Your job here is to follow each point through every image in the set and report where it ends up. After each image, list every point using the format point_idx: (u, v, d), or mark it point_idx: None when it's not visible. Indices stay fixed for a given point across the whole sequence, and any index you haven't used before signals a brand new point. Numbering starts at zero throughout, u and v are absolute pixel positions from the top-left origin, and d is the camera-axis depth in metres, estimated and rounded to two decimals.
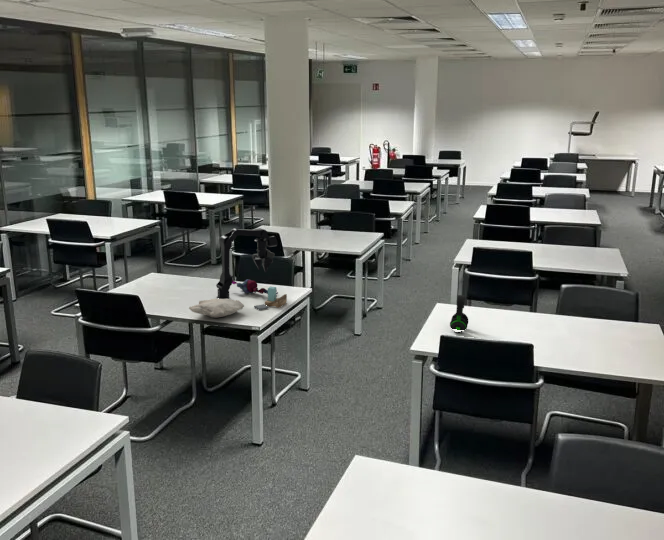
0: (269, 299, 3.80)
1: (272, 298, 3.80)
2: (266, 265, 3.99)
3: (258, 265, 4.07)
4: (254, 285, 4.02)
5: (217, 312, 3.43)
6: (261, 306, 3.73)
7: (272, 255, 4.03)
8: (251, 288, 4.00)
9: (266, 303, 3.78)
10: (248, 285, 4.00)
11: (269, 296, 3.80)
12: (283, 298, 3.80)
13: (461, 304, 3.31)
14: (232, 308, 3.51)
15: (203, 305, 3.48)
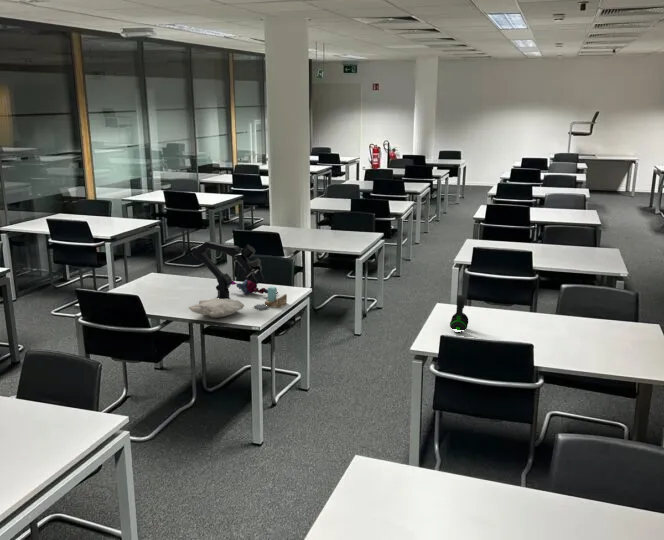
0: (269, 299, 3.80)
1: (272, 298, 3.80)
2: (251, 277, 3.77)
3: (260, 277, 3.86)
4: (254, 285, 4.01)
5: (217, 312, 3.43)
6: (261, 306, 3.73)
7: (255, 263, 3.78)
8: (251, 288, 4.00)
9: (266, 303, 3.78)
10: (248, 285, 3.99)
11: (269, 296, 3.80)
12: (283, 298, 3.80)
13: (461, 304, 3.31)
14: (232, 308, 3.51)
15: (203, 305, 3.48)
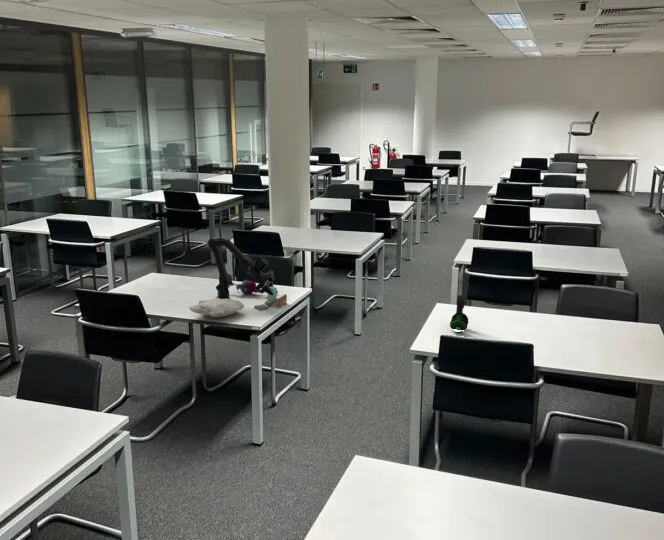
0: (269, 299, 3.80)
1: (272, 298, 3.80)
2: (266, 289, 3.78)
3: None
4: (254, 285, 4.01)
5: (217, 312, 3.43)
6: (261, 306, 3.73)
7: (268, 276, 3.77)
8: (251, 288, 3.99)
9: (266, 303, 3.78)
10: (248, 286, 3.98)
11: (269, 296, 3.80)
12: (283, 298, 3.80)
13: (461, 304, 3.31)
14: (232, 308, 3.51)
15: (203, 305, 3.48)
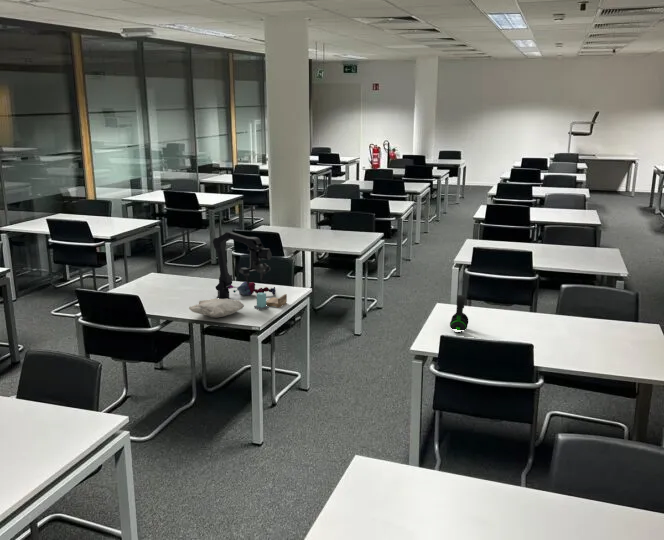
0: (258, 305, 3.72)
1: (260, 304, 3.71)
2: (246, 276, 3.76)
3: (261, 277, 3.83)
4: (254, 286, 3.99)
5: (217, 312, 3.43)
6: None
7: (256, 269, 3.72)
8: (253, 289, 3.97)
9: (266, 303, 3.78)
10: (250, 287, 3.96)
11: (258, 302, 3.71)
12: (283, 298, 3.80)
13: (461, 304, 3.31)
14: (232, 308, 3.51)
15: (203, 305, 3.48)
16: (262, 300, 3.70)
